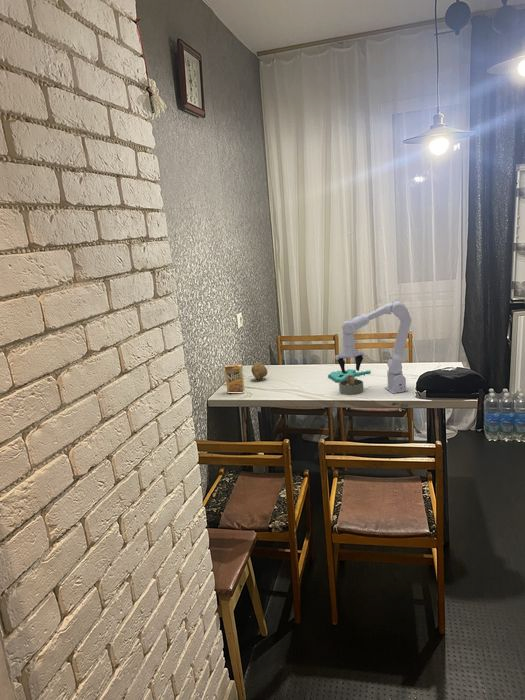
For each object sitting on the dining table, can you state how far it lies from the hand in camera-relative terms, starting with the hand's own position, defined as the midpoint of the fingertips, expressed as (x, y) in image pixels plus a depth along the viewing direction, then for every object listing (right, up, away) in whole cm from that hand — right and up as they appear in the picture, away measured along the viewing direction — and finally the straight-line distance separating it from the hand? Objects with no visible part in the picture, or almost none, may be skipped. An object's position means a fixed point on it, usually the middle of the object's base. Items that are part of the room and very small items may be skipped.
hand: (350, 371), depth 249 cm
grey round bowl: (+1, -10, +2) cm, 10 cm away
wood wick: (+1, -9, +2) cm, 9 cm away
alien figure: (+3, -5, +26) cm, 26 cm away
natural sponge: (-45, -7, +36) cm, 58 cm away
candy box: (-58, -12, +17) cm, 62 cm away
